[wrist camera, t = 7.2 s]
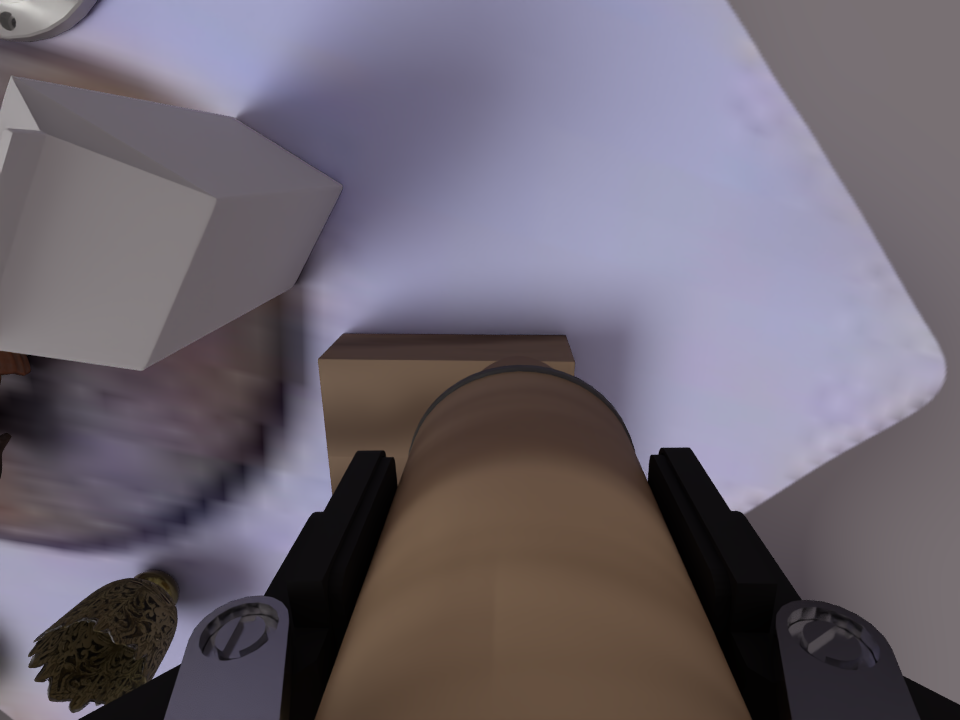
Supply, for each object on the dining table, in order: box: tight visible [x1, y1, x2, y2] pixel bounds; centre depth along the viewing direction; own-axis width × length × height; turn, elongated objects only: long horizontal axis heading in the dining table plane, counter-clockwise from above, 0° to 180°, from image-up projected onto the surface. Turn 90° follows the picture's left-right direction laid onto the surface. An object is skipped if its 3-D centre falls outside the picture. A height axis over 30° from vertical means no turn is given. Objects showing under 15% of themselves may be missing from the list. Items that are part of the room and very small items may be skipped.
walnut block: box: [318, 334, 575, 495], centre depth 35 cm, size 16×14×5 cm
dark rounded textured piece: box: [28, 570, 179, 713], centre depth 39 cm, size 8×7×8 cm
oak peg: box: [315, 356, 752, 720], centre depth 11 cm, size 5×5×14 cm
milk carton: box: [0, 76, 343, 371], centre depth 24 cm, size 7×7×19 cm
